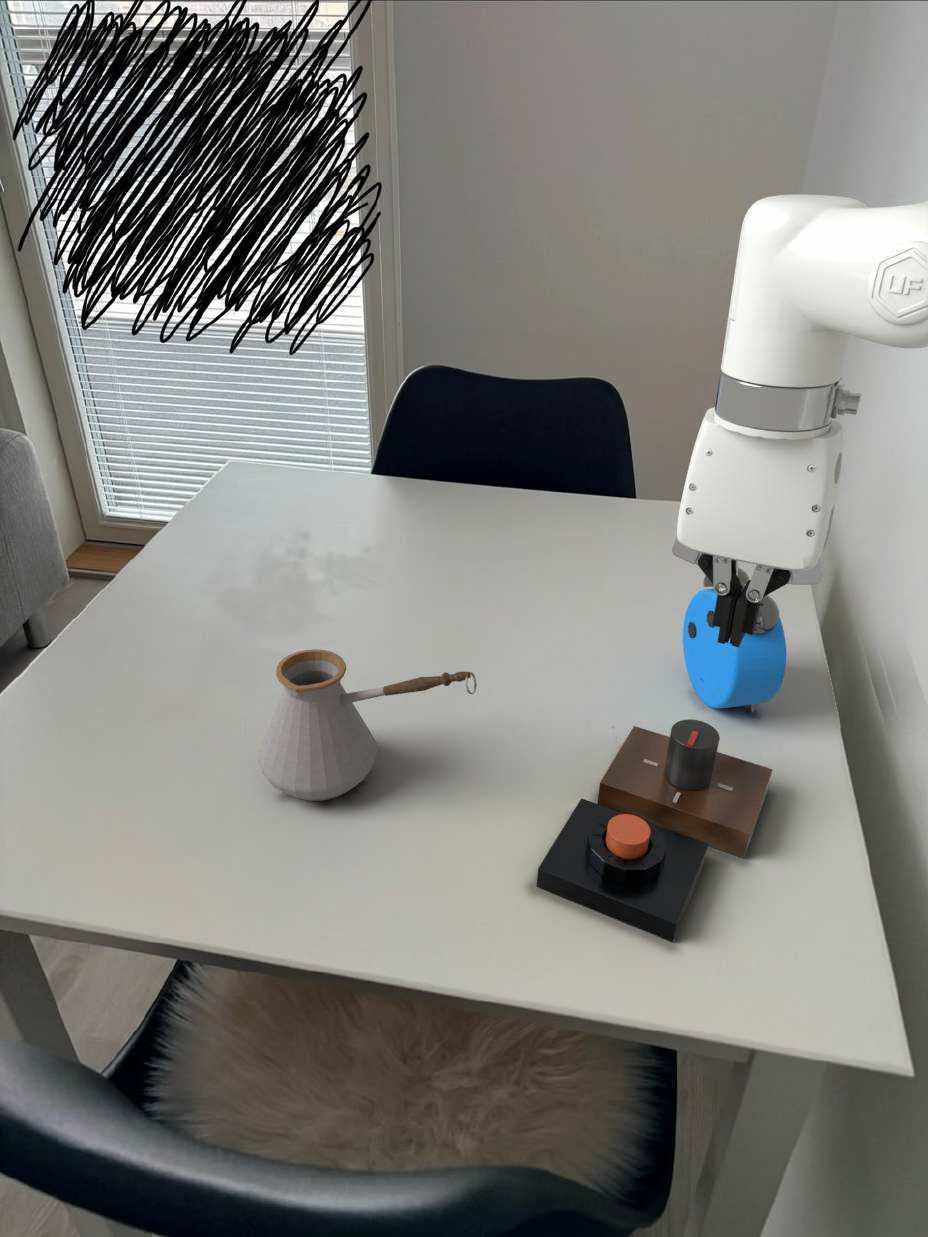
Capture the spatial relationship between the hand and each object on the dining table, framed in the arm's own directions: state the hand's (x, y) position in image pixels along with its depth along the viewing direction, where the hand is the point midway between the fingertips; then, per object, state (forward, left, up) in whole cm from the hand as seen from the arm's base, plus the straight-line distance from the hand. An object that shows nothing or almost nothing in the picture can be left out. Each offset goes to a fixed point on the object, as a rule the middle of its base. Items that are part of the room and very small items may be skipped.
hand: (732, 636), depth 67 cm
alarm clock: (+3, -26, -23) cm, 35 cm away
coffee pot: (+30, +6, -23) cm, 39 cm away
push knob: (+4, +5, -19) cm, 20 cm away
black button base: (+4, +5, -23) cm, 24 cm away
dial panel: (+2, -7, -23) cm, 24 cm away
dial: (+2, -7, -20) cm, 21 cm away
